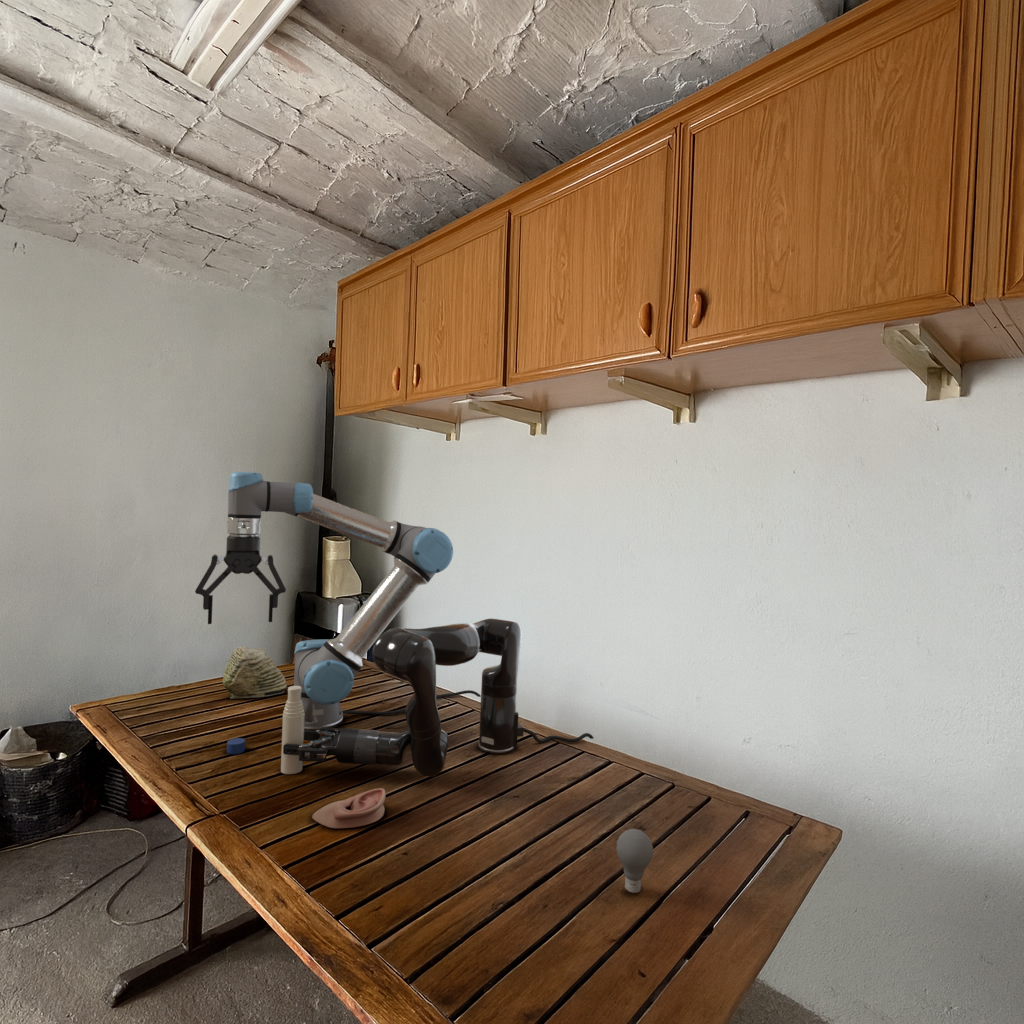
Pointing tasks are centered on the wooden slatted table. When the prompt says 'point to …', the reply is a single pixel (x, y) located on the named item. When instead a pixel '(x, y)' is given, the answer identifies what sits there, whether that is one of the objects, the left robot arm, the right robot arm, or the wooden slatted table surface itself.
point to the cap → (236, 746)
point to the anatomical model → (353, 810)
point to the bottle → (292, 730)
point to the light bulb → (634, 857)
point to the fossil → (252, 674)
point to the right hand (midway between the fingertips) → (291, 741)
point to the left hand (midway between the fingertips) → (240, 622)
